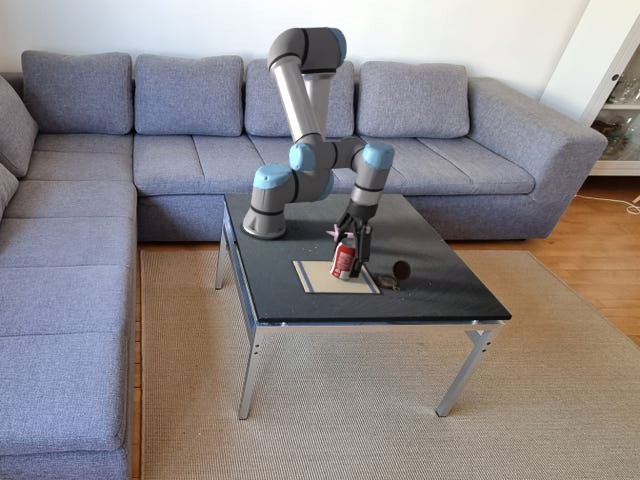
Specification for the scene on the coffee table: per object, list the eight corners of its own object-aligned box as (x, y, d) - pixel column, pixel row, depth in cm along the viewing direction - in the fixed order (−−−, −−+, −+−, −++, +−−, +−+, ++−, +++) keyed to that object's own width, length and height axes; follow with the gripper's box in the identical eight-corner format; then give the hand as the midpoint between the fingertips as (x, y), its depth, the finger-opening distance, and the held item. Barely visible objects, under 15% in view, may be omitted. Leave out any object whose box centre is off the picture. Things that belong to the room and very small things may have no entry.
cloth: (293, 261, 144) (293, 260, 144) (360, 262, 144) (361, 261, 144) (306, 292, 131) (306, 291, 131) (380, 293, 131) (380, 292, 131)
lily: (364, 262, 146) (373, 234, 144) (340, 256, 140) (350, 227, 139) (335, 254, 156) (344, 227, 155) (312, 248, 150) (321, 221, 149)
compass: (371, 278, 137) (378, 259, 132) (392, 275, 139) (400, 255, 134) (388, 294, 130) (396, 274, 126) (410, 290, 132) (419, 270, 128)
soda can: (353, 283, 134) (365, 250, 127) (330, 280, 135) (340, 247, 128) (350, 270, 140) (361, 238, 133) (328, 267, 141) (337, 235, 134)
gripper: (397, 222, 112) (373, 289, 124) (361, 182, 133) (343, 242, 145) (368, 222, 112) (346, 288, 124) (336, 182, 133) (321, 242, 145)
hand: (345, 264), depth 135 cm, fingers open, 13 cm apart
